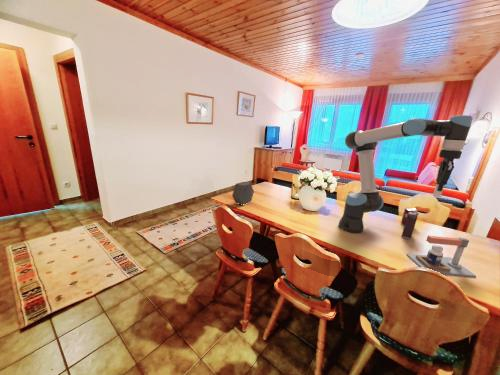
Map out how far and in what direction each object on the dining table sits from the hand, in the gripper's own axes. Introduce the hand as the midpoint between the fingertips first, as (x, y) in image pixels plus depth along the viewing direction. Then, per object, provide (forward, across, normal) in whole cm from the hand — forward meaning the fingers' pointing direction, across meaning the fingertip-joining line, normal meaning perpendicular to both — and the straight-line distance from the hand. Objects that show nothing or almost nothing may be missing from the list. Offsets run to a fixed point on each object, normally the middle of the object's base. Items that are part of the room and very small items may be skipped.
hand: (436, 196), depth 104 cm
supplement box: (+33, +19, +4) cm, 38 cm away
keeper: (+20, -9, -7) cm, 23 cm away
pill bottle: (+32, -12, -3) cm, 34 cm away
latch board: (+32, -9, -6) cm, 34 cm away
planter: (+33, +5, +118) cm, 123 cm away
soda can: (+33, +40, +1) cm, 52 cm away
